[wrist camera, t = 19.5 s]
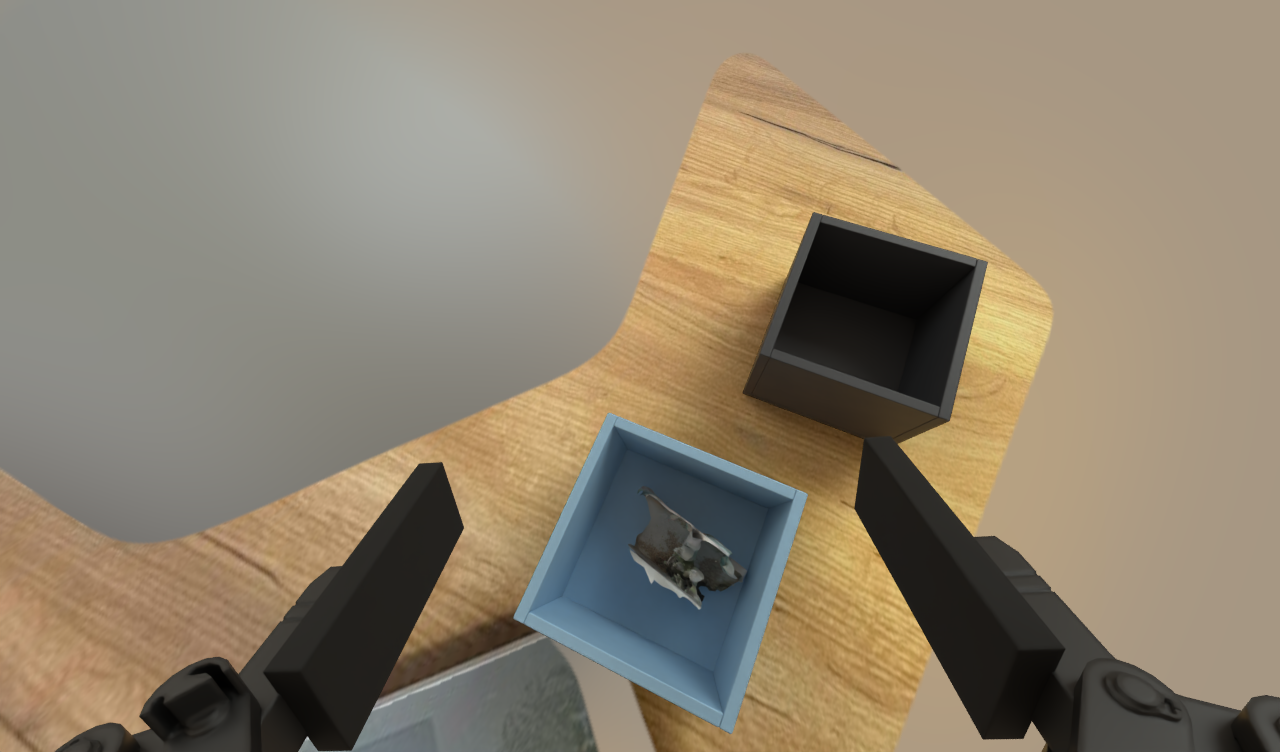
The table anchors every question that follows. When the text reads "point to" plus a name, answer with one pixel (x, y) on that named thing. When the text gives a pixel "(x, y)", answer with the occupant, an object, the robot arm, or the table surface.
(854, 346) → the waste bin
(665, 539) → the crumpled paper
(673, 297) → the table surface
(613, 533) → the paper bin
